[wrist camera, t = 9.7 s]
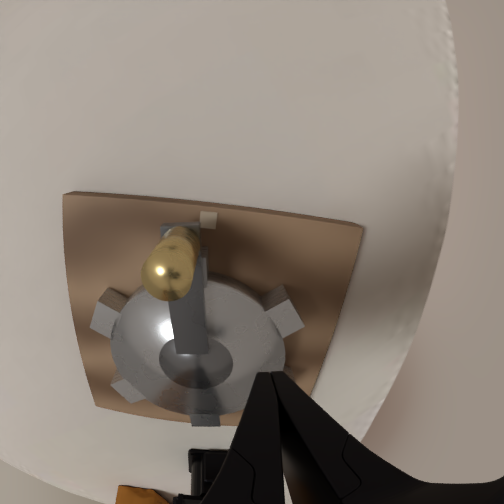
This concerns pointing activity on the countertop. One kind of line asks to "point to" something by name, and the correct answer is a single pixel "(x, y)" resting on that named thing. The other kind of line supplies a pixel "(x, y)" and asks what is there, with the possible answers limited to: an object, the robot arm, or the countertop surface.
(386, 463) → the robot arm
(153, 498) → the coffee package
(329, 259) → the walnut base
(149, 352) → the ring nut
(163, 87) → the countertop surface
